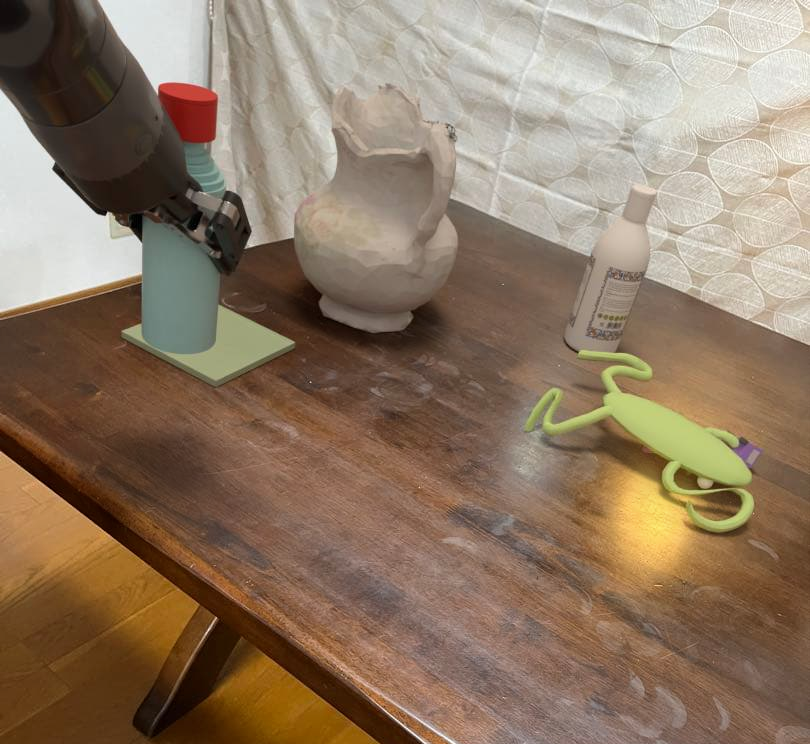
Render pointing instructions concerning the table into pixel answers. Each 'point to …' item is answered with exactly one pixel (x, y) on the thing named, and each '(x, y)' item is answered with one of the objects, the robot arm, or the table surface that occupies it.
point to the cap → (191, 110)
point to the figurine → (665, 438)
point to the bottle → (181, 274)
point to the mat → (223, 349)
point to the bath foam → (612, 278)
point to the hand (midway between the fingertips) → (192, 251)
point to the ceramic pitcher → (380, 212)
